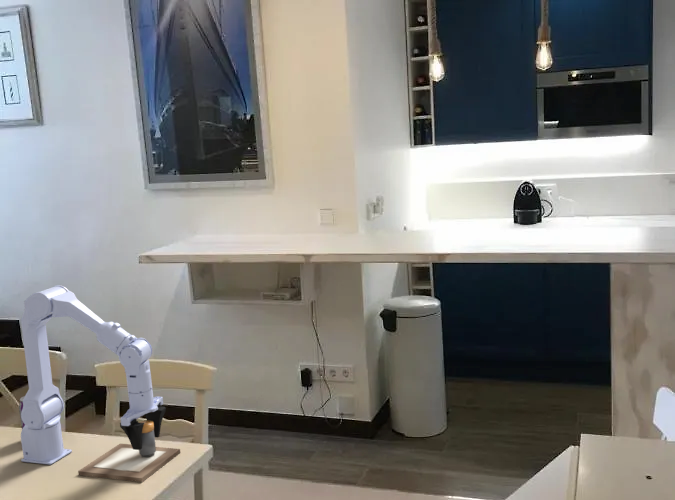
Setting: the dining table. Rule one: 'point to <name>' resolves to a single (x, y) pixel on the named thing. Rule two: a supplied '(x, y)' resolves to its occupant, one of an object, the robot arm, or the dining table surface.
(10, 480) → the dining table surface
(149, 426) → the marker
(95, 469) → the board
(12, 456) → the dining table surface
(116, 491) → the dining table surface
